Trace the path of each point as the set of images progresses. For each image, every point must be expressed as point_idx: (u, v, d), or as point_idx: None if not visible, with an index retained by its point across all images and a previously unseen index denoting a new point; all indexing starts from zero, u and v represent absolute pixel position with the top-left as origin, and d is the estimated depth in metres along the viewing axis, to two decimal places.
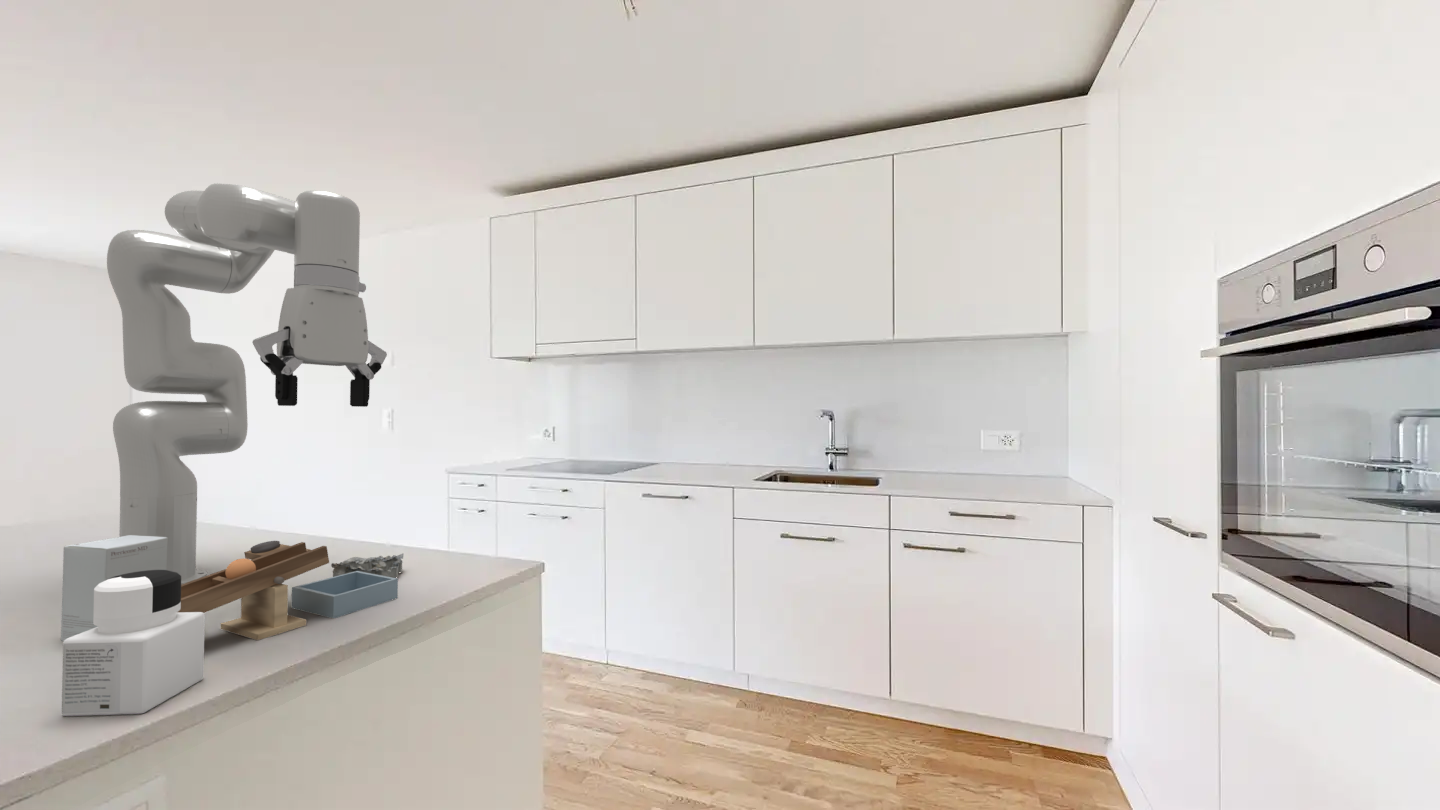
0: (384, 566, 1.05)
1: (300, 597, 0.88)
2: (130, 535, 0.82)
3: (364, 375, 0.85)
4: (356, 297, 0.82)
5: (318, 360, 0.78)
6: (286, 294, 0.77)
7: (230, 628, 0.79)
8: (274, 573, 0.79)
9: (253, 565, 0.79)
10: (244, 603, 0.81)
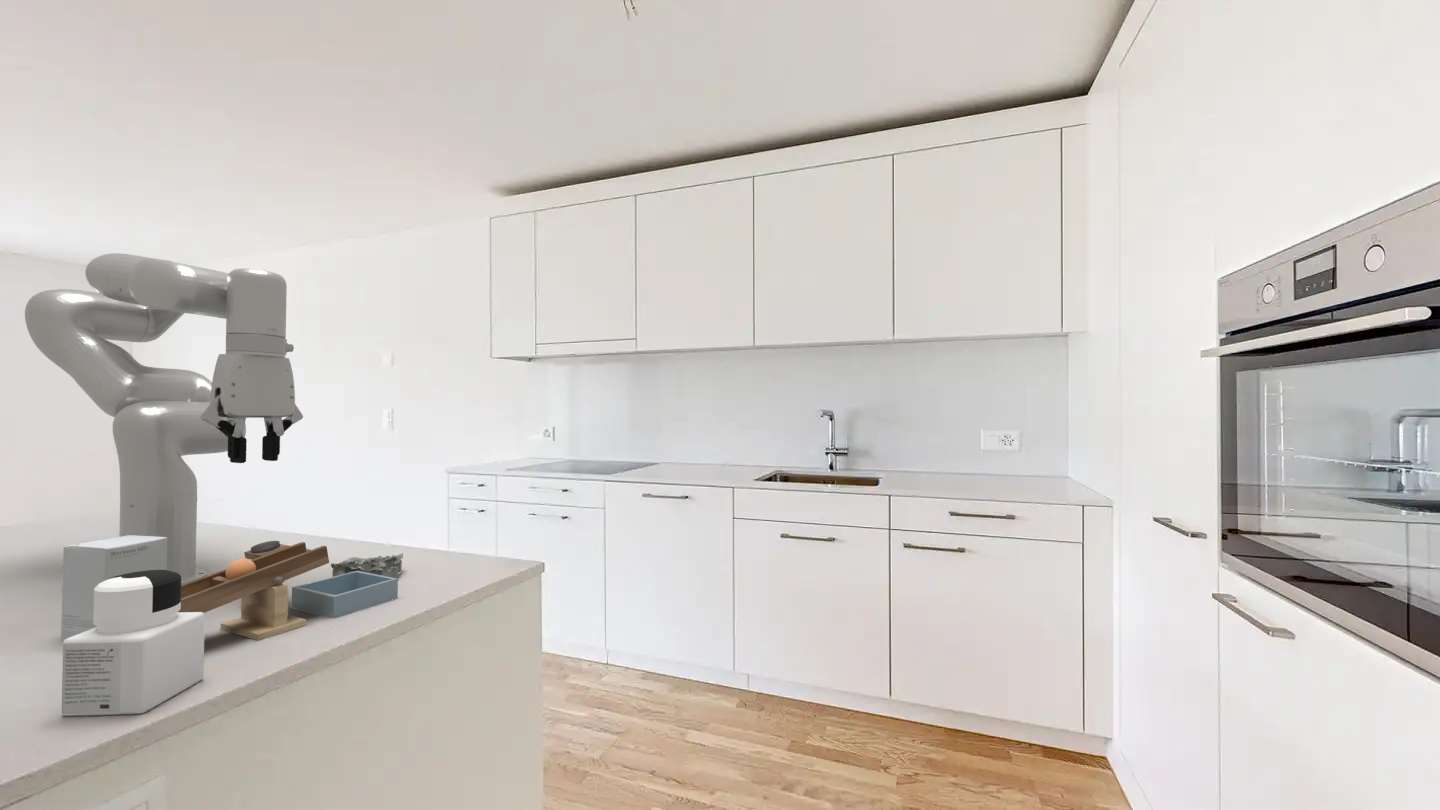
0: (384, 566, 1.05)
1: (300, 597, 0.88)
2: (130, 535, 0.82)
3: (275, 430, 0.94)
4: (283, 358, 0.94)
5: (246, 415, 0.90)
6: (218, 359, 0.89)
7: (230, 628, 0.79)
8: (274, 573, 0.79)
9: (253, 565, 0.79)
10: (244, 603, 0.81)
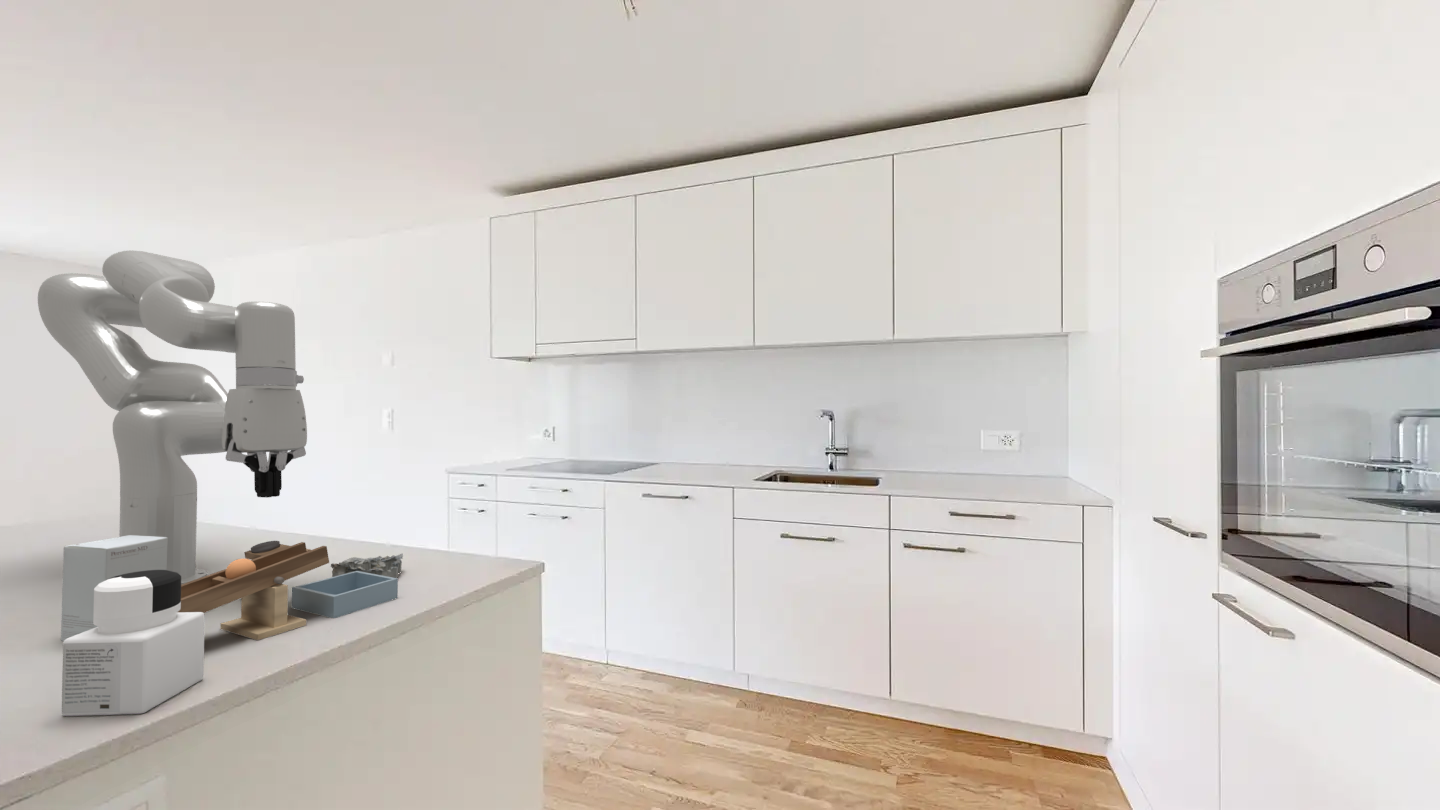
0: (384, 566, 1.05)
1: (300, 597, 0.88)
2: (130, 535, 0.82)
3: (276, 463, 0.91)
4: (293, 390, 0.93)
5: (259, 450, 0.89)
6: (228, 394, 0.88)
7: (230, 628, 0.79)
8: (274, 573, 0.79)
9: (253, 565, 0.79)
10: (244, 603, 0.81)
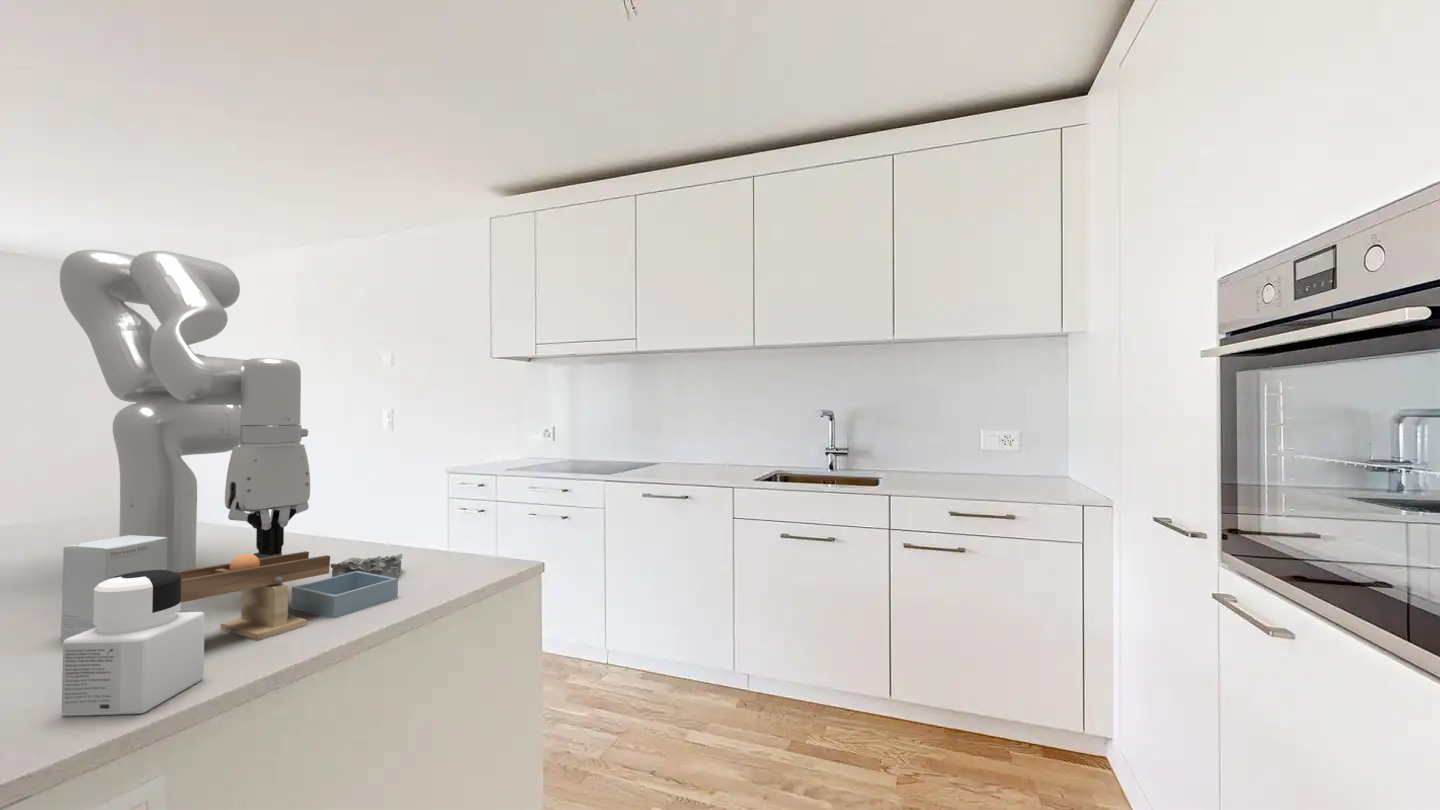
0: (384, 566, 1.05)
1: (300, 597, 0.88)
2: (130, 535, 0.82)
3: (279, 520, 0.91)
4: (298, 446, 0.93)
5: (262, 508, 0.88)
6: (233, 452, 0.87)
7: (230, 628, 0.79)
8: (276, 572, 0.80)
9: (258, 561, 0.79)
10: (244, 603, 0.81)
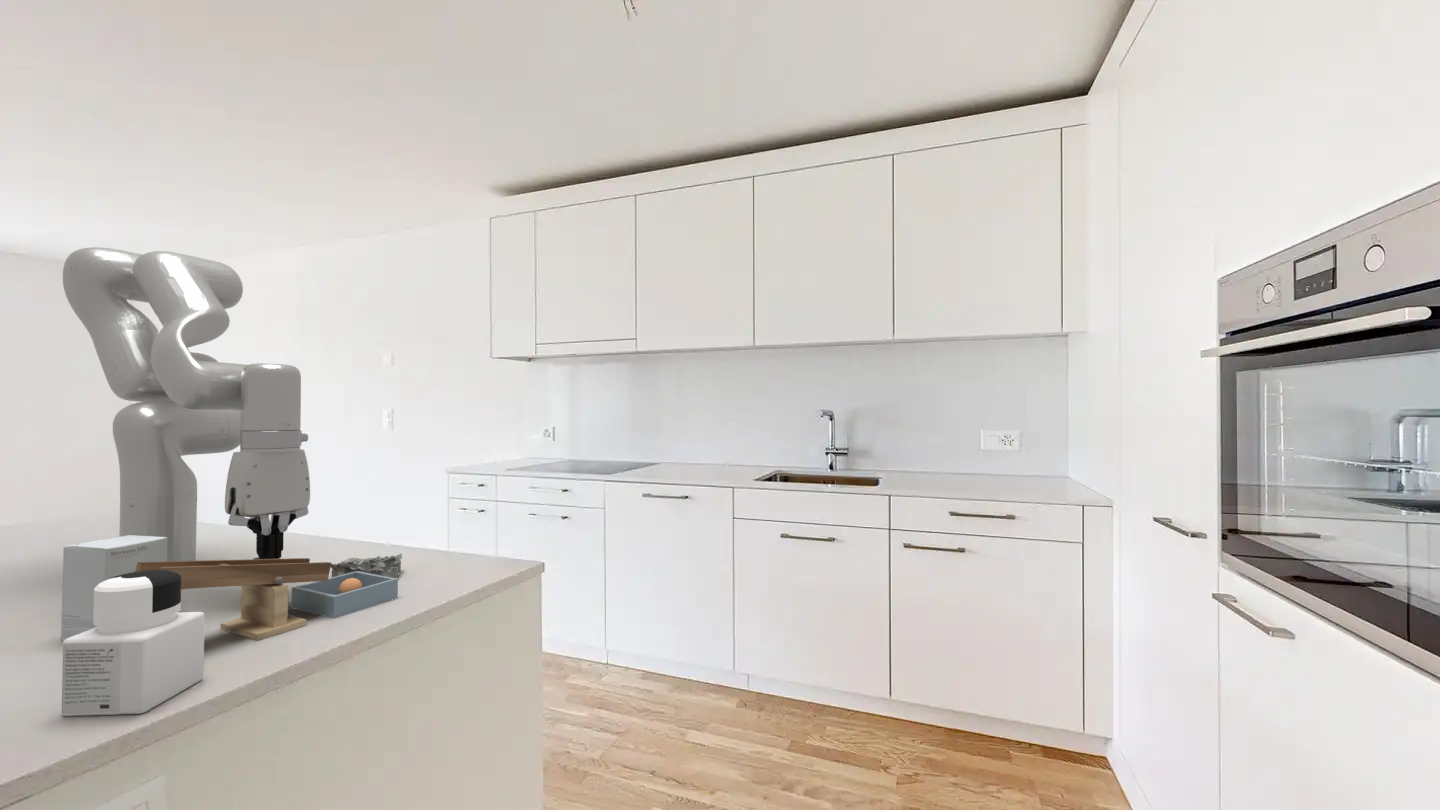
0: (384, 566, 1.05)
1: (300, 597, 0.88)
2: (130, 535, 0.82)
3: (279, 525, 0.91)
4: (298, 451, 0.93)
5: (262, 514, 0.88)
6: (233, 458, 0.87)
7: (230, 628, 0.79)
8: (277, 572, 0.80)
9: (345, 587, 0.91)
10: (244, 603, 0.81)
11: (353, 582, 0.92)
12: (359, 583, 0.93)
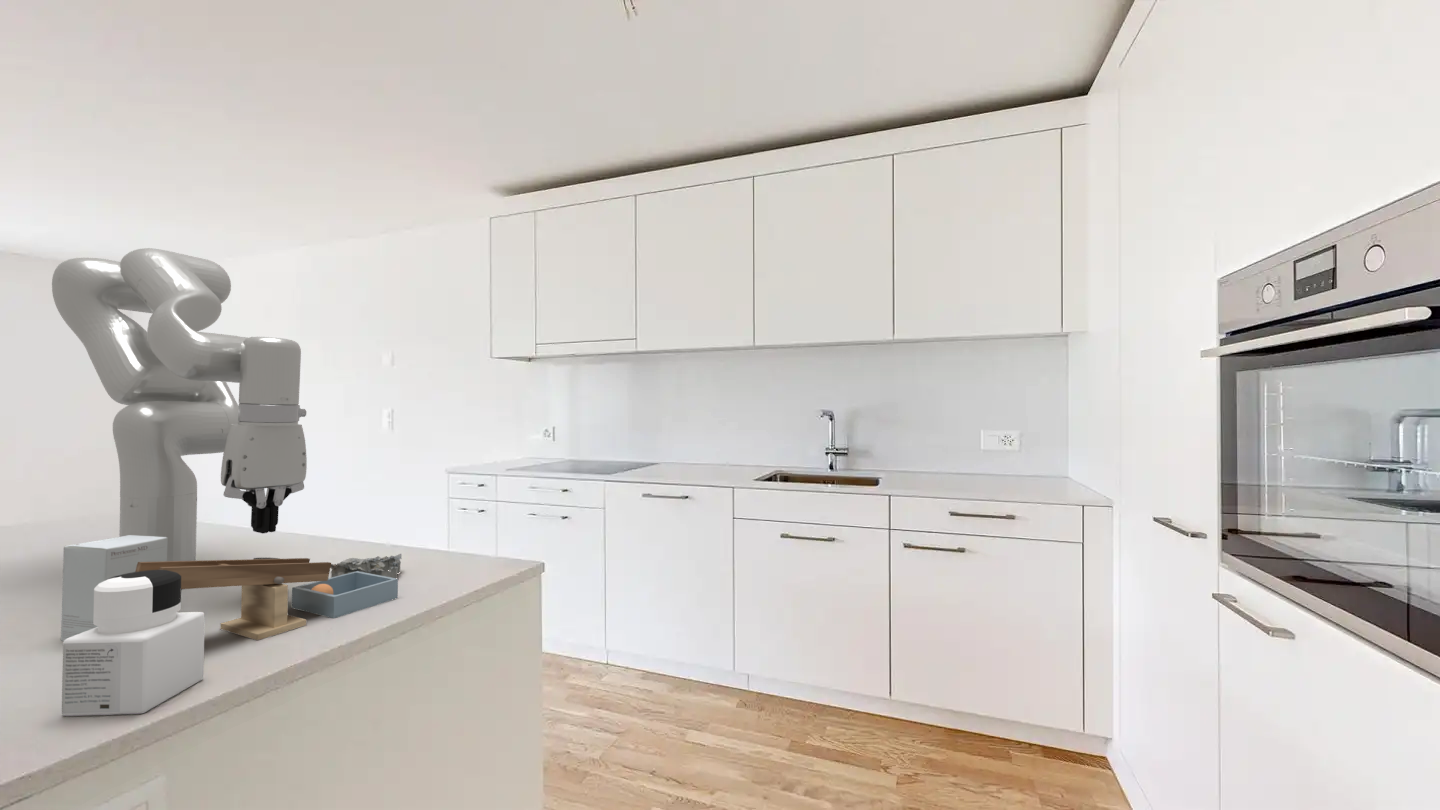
0: (383, 567, 1.05)
1: (300, 597, 0.88)
2: (130, 535, 0.82)
3: (274, 499, 0.91)
4: (295, 426, 0.93)
5: (257, 487, 0.88)
6: (230, 430, 0.87)
7: (230, 628, 0.79)
8: (277, 572, 0.80)
9: None
10: (244, 603, 0.81)
11: None
12: None
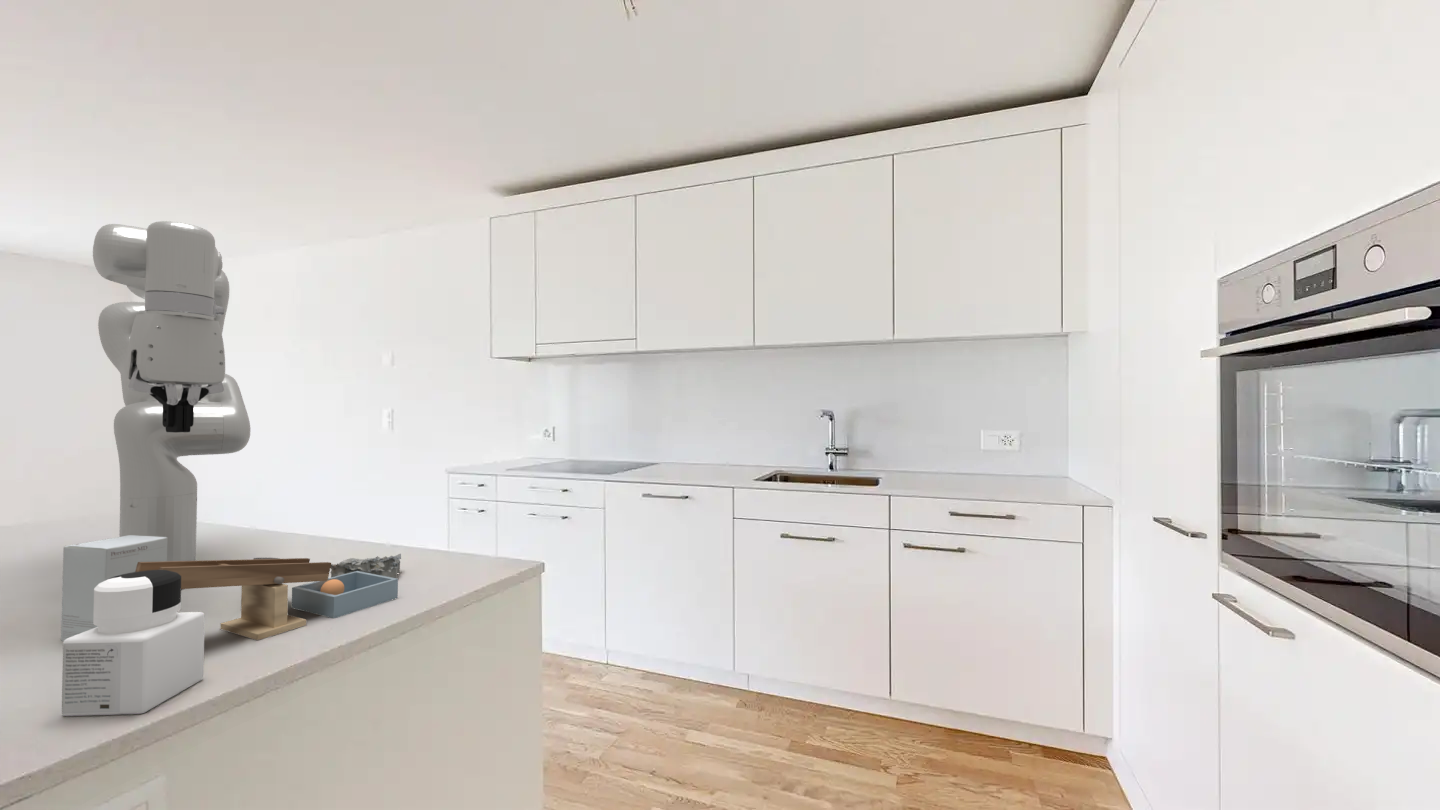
0: (383, 567, 1.05)
1: (300, 597, 0.88)
2: (130, 535, 0.82)
3: (188, 397, 0.86)
4: (210, 320, 0.87)
5: (167, 381, 0.83)
6: (135, 319, 0.82)
7: (230, 628, 0.79)
8: (277, 572, 0.80)
9: (329, 592, 0.90)
10: (244, 603, 0.81)
11: (321, 589, 0.91)
12: None
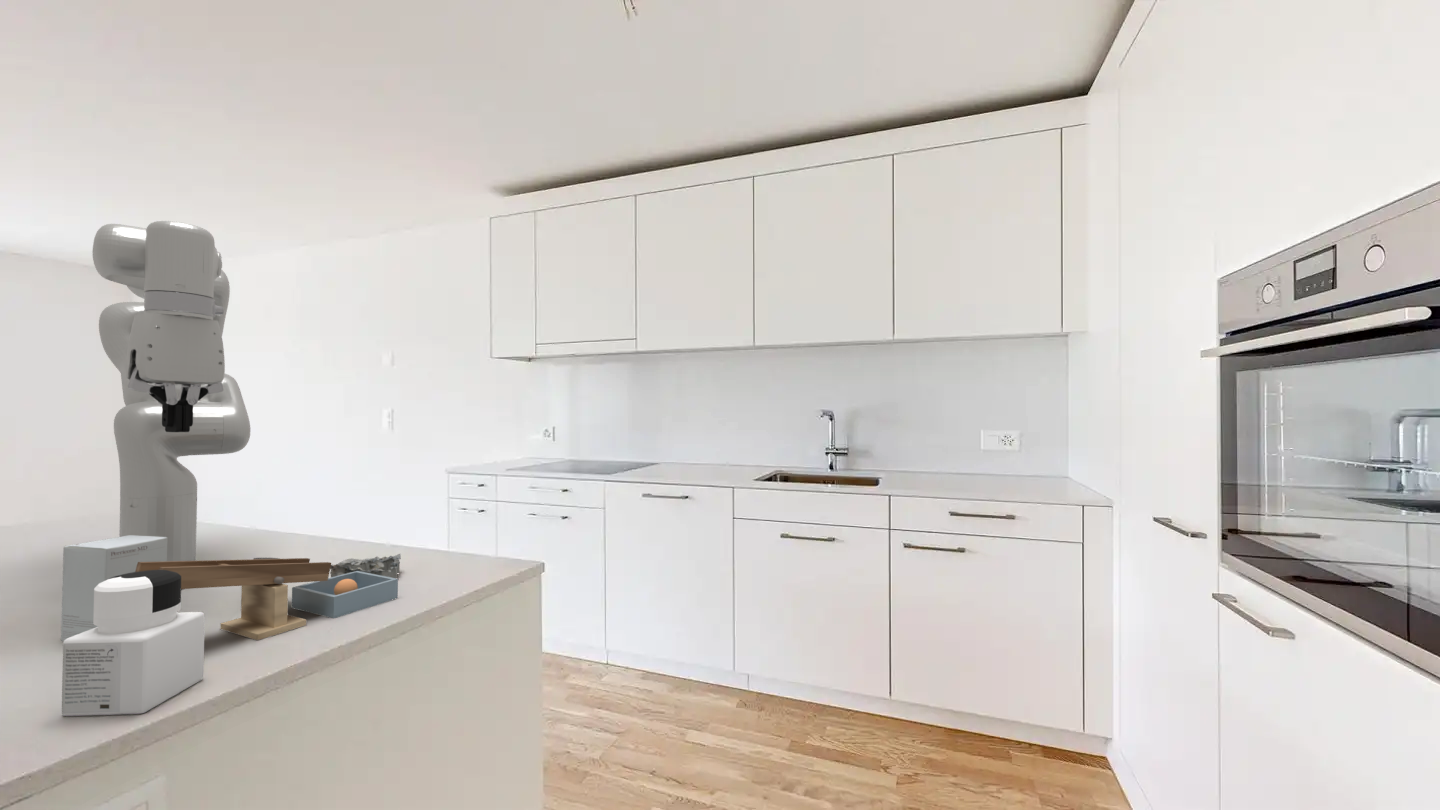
0: (383, 567, 1.05)
1: (300, 597, 0.88)
2: (130, 535, 0.82)
3: (187, 397, 0.86)
4: (210, 320, 0.87)
5: (166, 381, 0.83)
6: (134, 319, 0.82)
7: (230, 628, 0.79)
8: (277, 572, 0.80)
9: None
10: (244, 603, 0.81)
11: (342, 585, 0.91)
12: (347, 581, 0.92)
